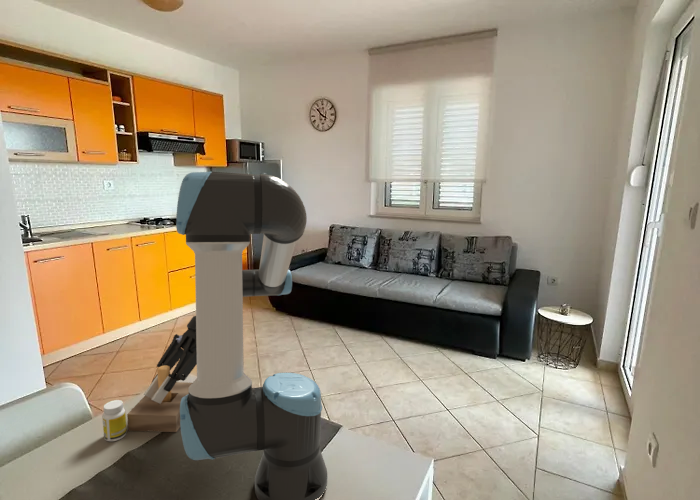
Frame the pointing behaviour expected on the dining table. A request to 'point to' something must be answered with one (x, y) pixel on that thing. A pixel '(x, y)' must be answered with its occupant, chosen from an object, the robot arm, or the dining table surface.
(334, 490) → the dining table surface
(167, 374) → the dowel
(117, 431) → the supplement bottle
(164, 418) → the walnut block
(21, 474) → the dining table surface
